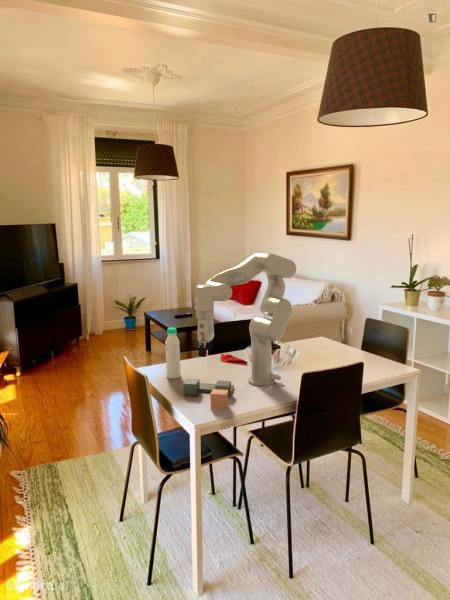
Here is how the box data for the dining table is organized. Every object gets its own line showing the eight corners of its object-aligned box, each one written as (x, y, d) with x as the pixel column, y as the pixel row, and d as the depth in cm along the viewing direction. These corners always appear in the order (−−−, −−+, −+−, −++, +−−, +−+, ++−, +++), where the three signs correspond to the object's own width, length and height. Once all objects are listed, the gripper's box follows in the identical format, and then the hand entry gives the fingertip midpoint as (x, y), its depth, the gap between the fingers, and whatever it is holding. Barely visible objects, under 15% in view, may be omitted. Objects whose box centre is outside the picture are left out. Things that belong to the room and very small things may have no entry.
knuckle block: (228, 405, 192) (228, 390, 191) (226, 410, 188) (225, 394, 186) (213, 404, 194) (213, 389, 192) (210, 409, 189) (210, 393, 187)
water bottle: (178, 379, 223) (176, 330, 218) (164, 378, 224) (162, 329, 220) (182, 374, 230) (180, 326, 225) (169, 374, 231) (167, 326, 226)
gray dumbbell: (236, 388, 211) (235, 375, 210) (231, 399, 199) (230, 386, 197) (189, 385, 215) (188, 373, 214) (181, 396, 203) (181, 383, 202)
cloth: (212, 355, 261) (212, 352, 261) (234, 352, 266) (234, 349, 266) (229, 370, 237) (229, 365, 237) (253, 366, 242) (253, 362, 242)
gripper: (208, 319, 182) (208, 360, 185) (218, 310, 199) (219, 348, 202) (190, 318, 184) (191, 358, 187) (202, 309, 200) (202, 347, 204)
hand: (205, 353), depth 194 cm, fingers open, 9 cm apart
